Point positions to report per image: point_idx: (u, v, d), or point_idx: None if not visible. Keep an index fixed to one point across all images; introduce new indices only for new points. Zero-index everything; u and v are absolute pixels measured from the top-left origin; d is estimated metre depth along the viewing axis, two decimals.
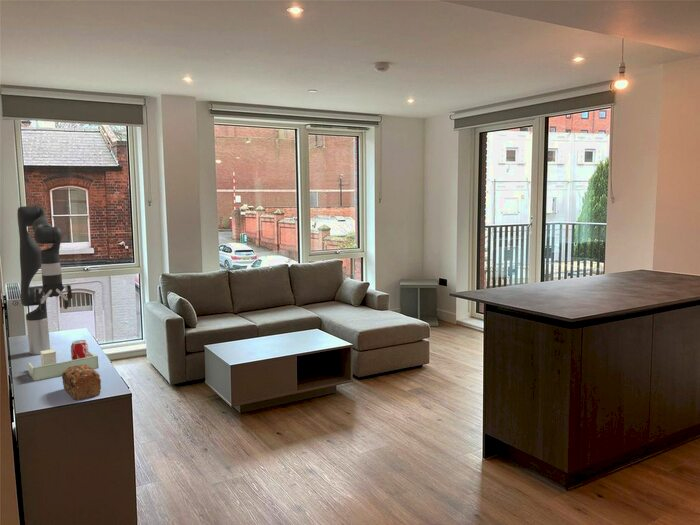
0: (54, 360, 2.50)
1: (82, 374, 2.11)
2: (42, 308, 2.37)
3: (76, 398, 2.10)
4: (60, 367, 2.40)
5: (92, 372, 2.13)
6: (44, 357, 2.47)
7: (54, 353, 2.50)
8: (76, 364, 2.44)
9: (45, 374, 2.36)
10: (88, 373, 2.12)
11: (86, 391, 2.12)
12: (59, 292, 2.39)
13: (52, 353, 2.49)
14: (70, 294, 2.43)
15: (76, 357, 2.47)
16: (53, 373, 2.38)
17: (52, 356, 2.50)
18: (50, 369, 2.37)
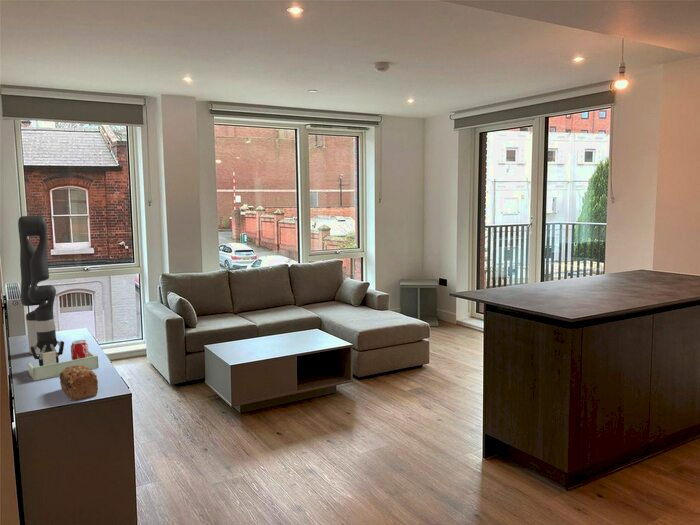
0: (54, 360, 2.50)
1: (79, 375, 2.11)
2: (40, 364, 2.49)
3: (73, 399, 2.09)
4: (60, 367, 2.40)
5: (89, 373, 2.13)
6: (44, 357, 2.47)
7: (54, 353, 2.50)
8: (76, 364, 2.44)
9: (45, 374, 2.36)
10: (85, 373, 2.12)
11: (83, 392, 2.11)
12: (52, 347, 2.50)
13: (52, 353, 2.49)
14: (61, 350, 2.53)
15: (76, 357, 2.47)
16: (53, 373, 2.38)
17: (52, 356, 2.50)
18: (50, 369, 2.37)
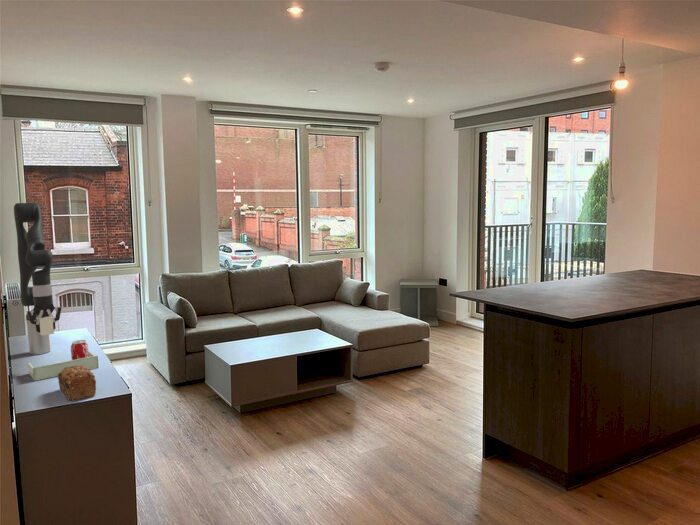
0: (51, 325, 2.48)
1: (77, 375, 2.10)
2: (37, 329, 2.47)
3: (71, 399, 2.09)
4: (60, 367, 2.40)
5: (87, 373, 2.12)
6: (41, 322, 2.46)
7: (51, 318, 2.48)
8: (76, 364, 2.44)
9: (45, 374, 2.36)
10: (83, 373, 2.11)
11: (81, 392, 2.11)
12: (49, 313, 2.48)
13: (49, 318, 2.47)
14: (58, 316, 2.51)
15: (76, 357, 2.47)
16: (53, 373, 2.38)
17: (49, 321, 2.48)
18: (50, 369, 2.37)
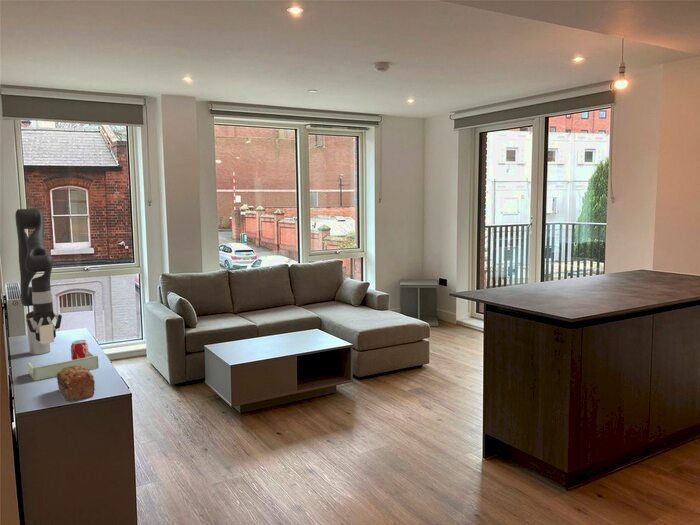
0: (51, 334, 2.39)
1: (76, 375, 2.10)
2: (37, 337, 2.38)
3: (69, 399, 2.09)
4: (60, 367, 2.40)
5: (86, 373, 2.12)
6: (41, 330, 2.37)
7: (51, 326, 2.39)
8: (76, 364, 2.44)
9: (45, 374, 2.36)
10: (82, 374, 2.11)
11: (80, 392, 2.10)
12: (49, 320, 2.40)
13: (49, 326, 2.39)
14: (59, 324, 2.43)
15: (76, 357, 2.47)
16: (53, 373, 2.38)
17: (49, 329, 2.39)
18: (50, 369, 2.37)
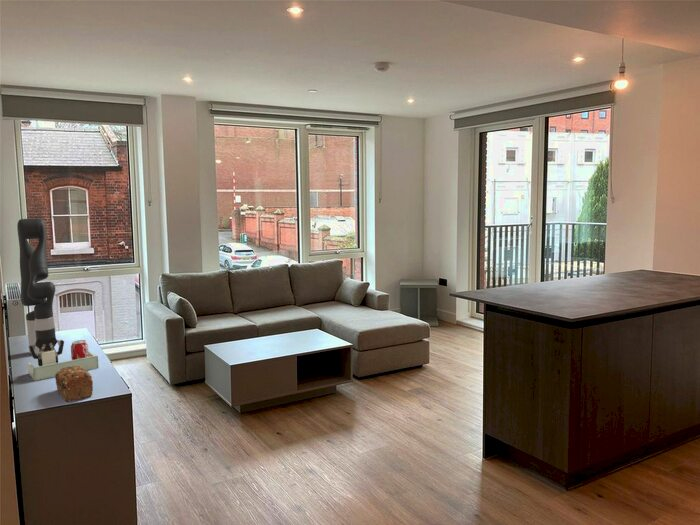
0: (54, 360, 2.41)
1: (74, 375, 2.10)
2: (40, 364, 2.40)
3: (67, 399, 2.08)
4: (60, 367, 2.40)
5: (84, 373, 2.12)
6: (43, 356, 2.38)
7: (54, 352, 2.41)
8: (76, 364, 2.44)
9: (45, 374, 2.36)
10: (80, 374, 2.11)
11: (78, 393, 2.10)
12: (52, 347, 2.41)
13: (51, 352, 2.40)
14: (61, 350, 2.44)
15: (76, 357, 2.47)
16: (53, 373, 2.38)
17: (51, 355, 2.40)
18: (50, 369, 2.37)
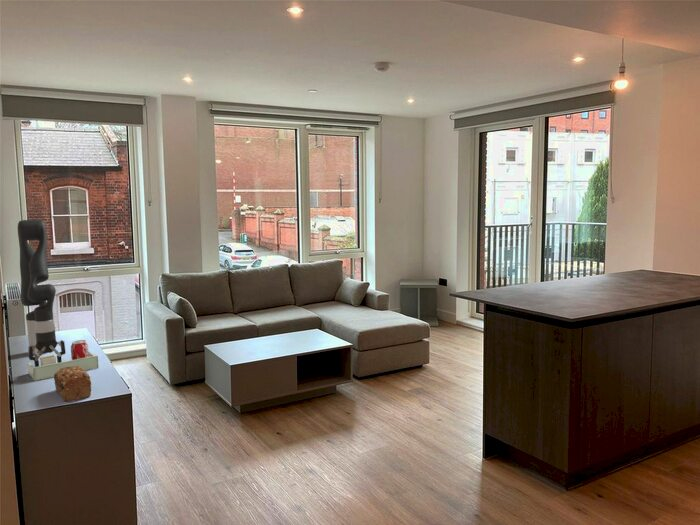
0: None
1: (72, 376, 2.09)
2: (36, 365, 2.39)
3: (66, 400, 2.08)
4: (60, 367, 2.40)
5: (82, 374, 2.11)
6: (44, 363, 2.39)
7: (54, 359, 2.41)
8: (76, 364, 2.44)
9: (45, 374, 2.36)
10: (78, 374, 2.10)
11: (76, 393, 2.10)
12: (53, 348, 2.41)
13: (52, 359, 2.40)
14: (63, 350, 2.45)
15: (76, 357, 2.47)
16: (53, 373, 2.38)
17: (52, 362, 2.41)
18: (50, 369, 2.37)
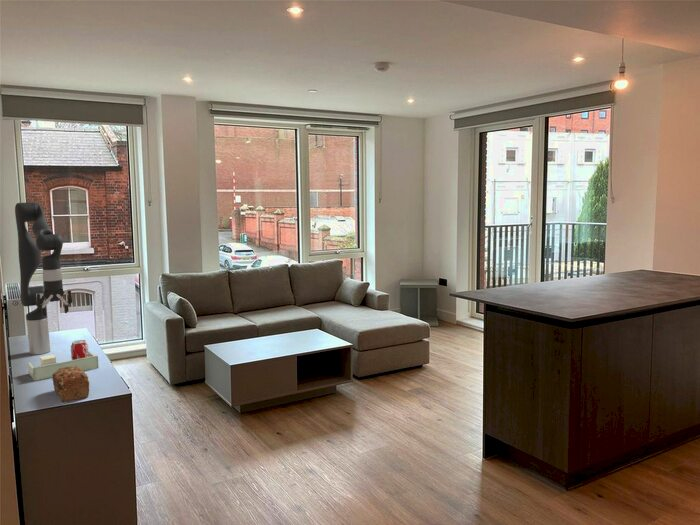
0: None
1: (70, 376, 2.09)
2: (43, 312, 2.46)
3: (64, 400, 2.08)
4: (60, 367, 2.40)
5: (80, 374, 2.11)
6: (44, 363, 2.39)
7: (54, 359, 2.41)
8: (76, 364, 2.44)
9: (45, 374, 2.36)
10: (76, 375, 2.10)
11: (74, 393, 2.09)
12: (60, 297, 2.48)
13: (52, 359, 2.40)
14: (70, 299, 2.52)
15: (76, 357, 2.47)
16: None
17: (52, 362, 2.41)
18: (50, 369, 2.37)
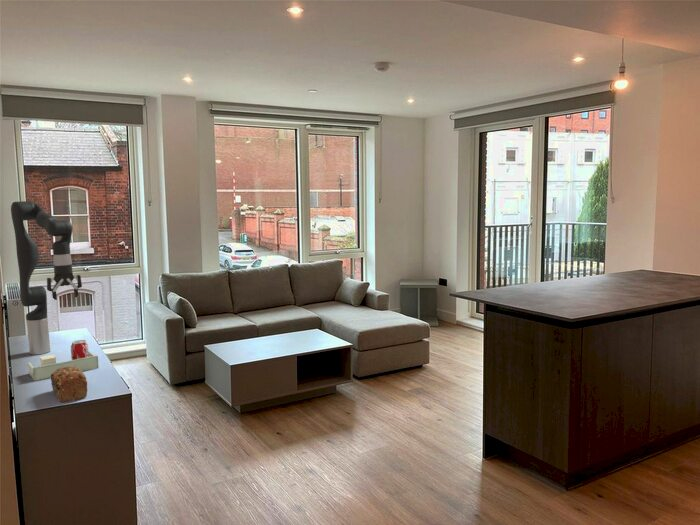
0: None
1: (68, 376, 2.09)
2: (54, 296, 2.54)
3: (62, 400, 2.07)
4: (60, 367, 2.40)
5: (78, 374, 2.11)
6: (44, 363, 2.39)
7: (54, 359, 2.41)
8: (76, 364, 2.44)
9: (45, 374, 2.36)
10: (74, 375, 2.10)
11: (72, 394, 2.09)
12: (70, 281, 2.56)
13: (52, 359, 2.40)
14: (80, 283, 2.60)
15: (76, 357, 2.47)
16: None
17: (52, 362, 2.41)
18: (50, 369, 2.37)
